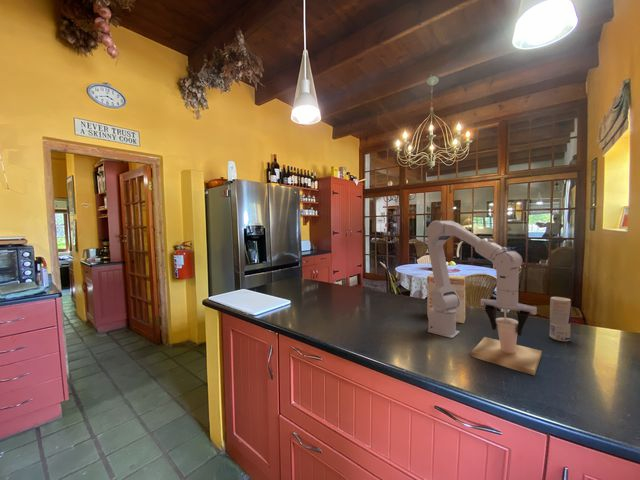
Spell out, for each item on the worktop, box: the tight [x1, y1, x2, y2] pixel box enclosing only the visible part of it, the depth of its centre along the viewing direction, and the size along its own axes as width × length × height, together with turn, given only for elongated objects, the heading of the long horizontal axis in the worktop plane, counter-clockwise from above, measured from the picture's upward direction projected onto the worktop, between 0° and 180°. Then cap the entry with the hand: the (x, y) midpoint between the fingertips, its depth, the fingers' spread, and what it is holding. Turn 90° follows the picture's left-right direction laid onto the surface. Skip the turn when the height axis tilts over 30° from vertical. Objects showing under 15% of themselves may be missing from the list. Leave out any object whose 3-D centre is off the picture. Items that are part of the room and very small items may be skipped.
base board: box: [470, 336, 543, 376], centre depth 85 cm, size 16×16×2 cm
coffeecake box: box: [426, 273, 466, 324], centre depth 120 cm, size 15×7×20 cm, turn 58°
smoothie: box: [495, 309, 518, 353], centre depth 85 cm, size 6×6×14 cm
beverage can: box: [549, 296, 572, 342], centre depth 97 cm, size 6×6×15 cm
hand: (506, 331), depth 85 cm, fingers closed on smoothie, 6 cm apart
